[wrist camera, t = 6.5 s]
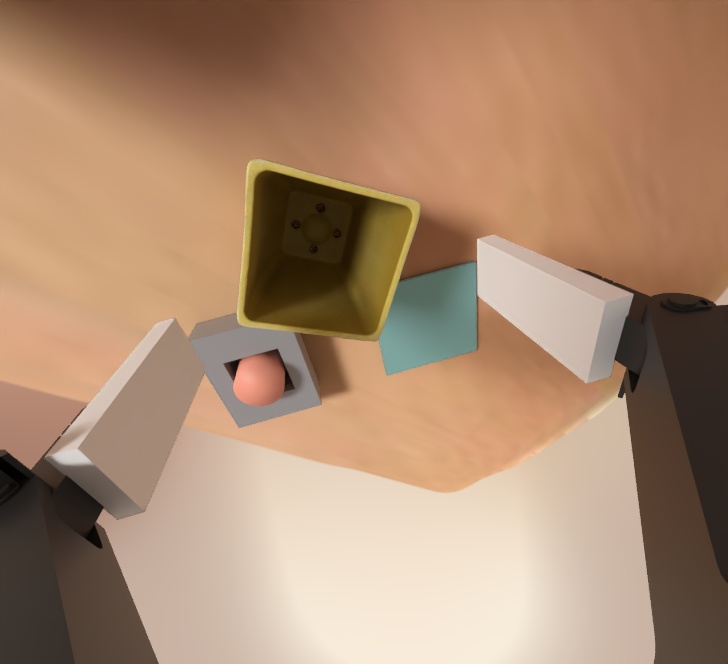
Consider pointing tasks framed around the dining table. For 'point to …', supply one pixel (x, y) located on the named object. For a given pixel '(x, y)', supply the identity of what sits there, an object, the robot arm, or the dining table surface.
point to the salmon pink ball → (260, 378)
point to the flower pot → (320, 253)
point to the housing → (233, 341)
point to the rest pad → (431, 319)
